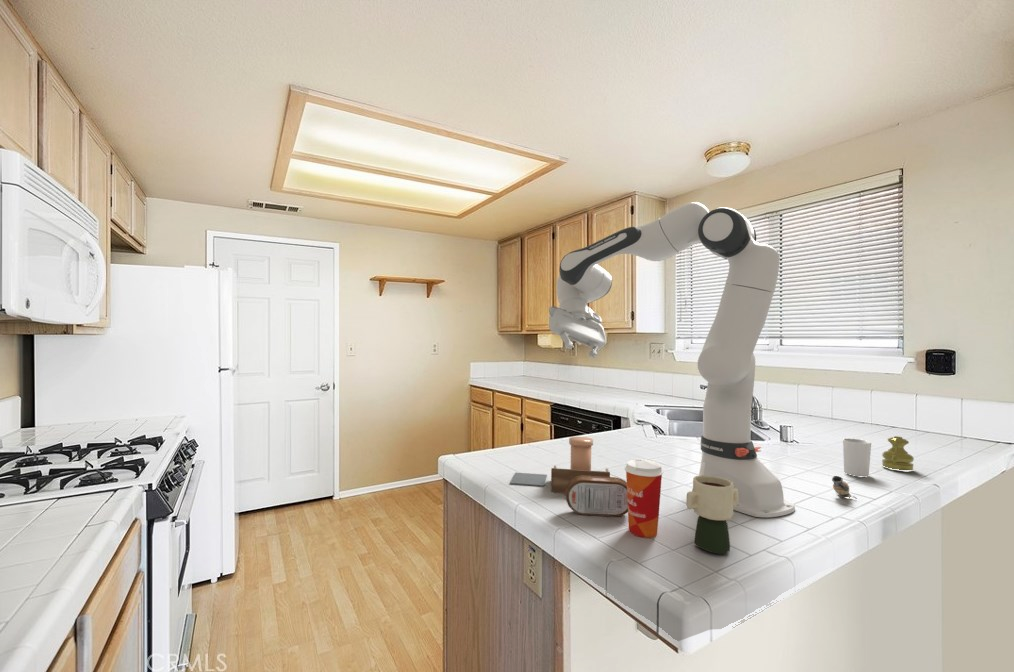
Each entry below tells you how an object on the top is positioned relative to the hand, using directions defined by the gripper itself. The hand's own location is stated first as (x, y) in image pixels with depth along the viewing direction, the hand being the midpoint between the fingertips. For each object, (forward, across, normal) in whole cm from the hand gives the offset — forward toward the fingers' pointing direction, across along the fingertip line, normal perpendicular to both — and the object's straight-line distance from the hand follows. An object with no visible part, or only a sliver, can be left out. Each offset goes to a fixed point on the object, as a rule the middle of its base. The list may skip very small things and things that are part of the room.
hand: (581, 352), depth 132 cm
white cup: (+33, +78, -26) cm, 89 cm away
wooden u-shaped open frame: (+36, +2, +11) cm, 38 cm away
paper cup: (+52, -3, -11) cm, 53 cm away
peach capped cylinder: (+34, +4, +13) cm, 37 cm away
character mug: (+57, +2, -21) cm, 61 cm away
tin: (+46, -5, -1) cm, 47 cm away
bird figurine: (+44, +53, -28) cm, 74 cm away
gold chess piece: (+31, +95, -32) cm, 105 cm away
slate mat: (+32, -6, +22) cm, 39 cm away
